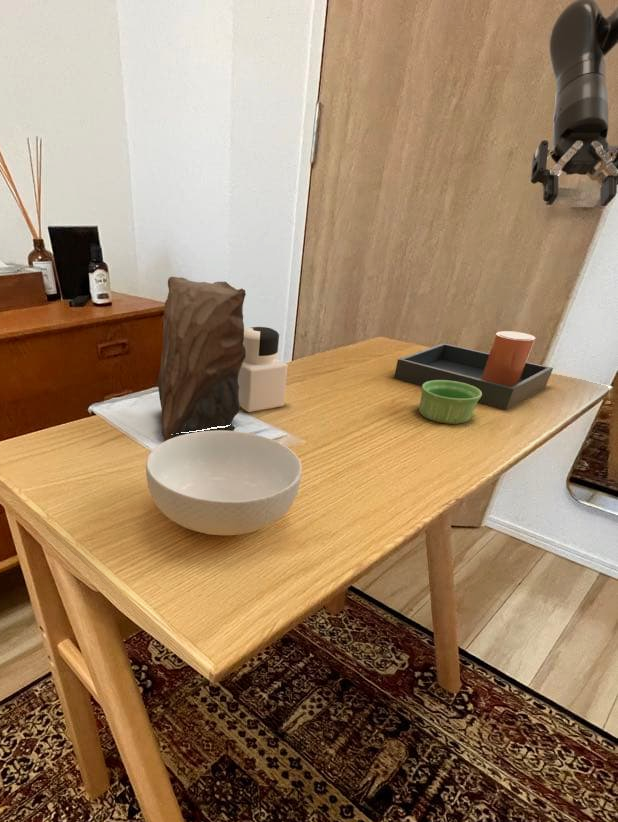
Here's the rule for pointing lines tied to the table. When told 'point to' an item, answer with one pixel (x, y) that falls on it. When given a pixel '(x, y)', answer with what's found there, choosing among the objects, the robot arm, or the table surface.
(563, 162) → the robot arm
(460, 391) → the ramekin
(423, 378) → the tray
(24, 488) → the table surface
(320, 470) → the table surface
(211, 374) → the brown carved rock
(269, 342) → the medicine bottle
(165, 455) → the cereal bowl
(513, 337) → the cup
